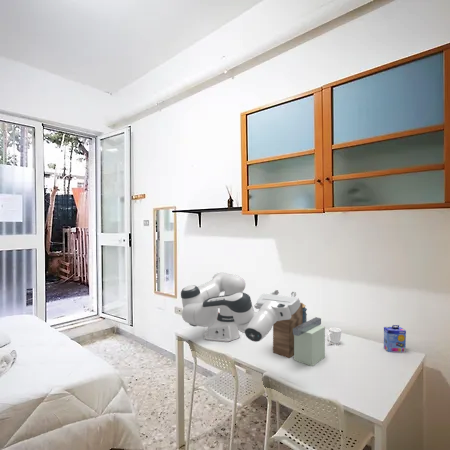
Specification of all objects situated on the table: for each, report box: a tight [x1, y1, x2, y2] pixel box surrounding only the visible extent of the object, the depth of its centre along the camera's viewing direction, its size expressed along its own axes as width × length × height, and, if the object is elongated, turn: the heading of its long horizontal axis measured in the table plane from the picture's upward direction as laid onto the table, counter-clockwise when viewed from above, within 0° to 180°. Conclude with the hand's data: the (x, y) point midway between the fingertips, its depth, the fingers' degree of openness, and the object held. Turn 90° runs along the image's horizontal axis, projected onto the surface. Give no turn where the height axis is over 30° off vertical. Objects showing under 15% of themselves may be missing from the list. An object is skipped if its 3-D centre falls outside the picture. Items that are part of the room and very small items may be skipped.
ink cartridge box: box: [383, 324, 407, 353], centre depth 166 cm, size 10×6×14 cm, turn 87°
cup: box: [326, 327, 343, 346], centre depth 175 cm, size 7×10×8 cm
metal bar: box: [293, 316, 322, 336], centre depth 154 cm, size 24×3×3 cm, turn 136°
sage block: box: [293, 324, 326, 367], centre depth 156 cm, size 14×10×16 cm
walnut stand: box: [272, 302, 304, 359], centre depth 165 cm, size 14×10×26 cm
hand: (285, 292), depth 141 cm, fingers open, 8 cm apart
